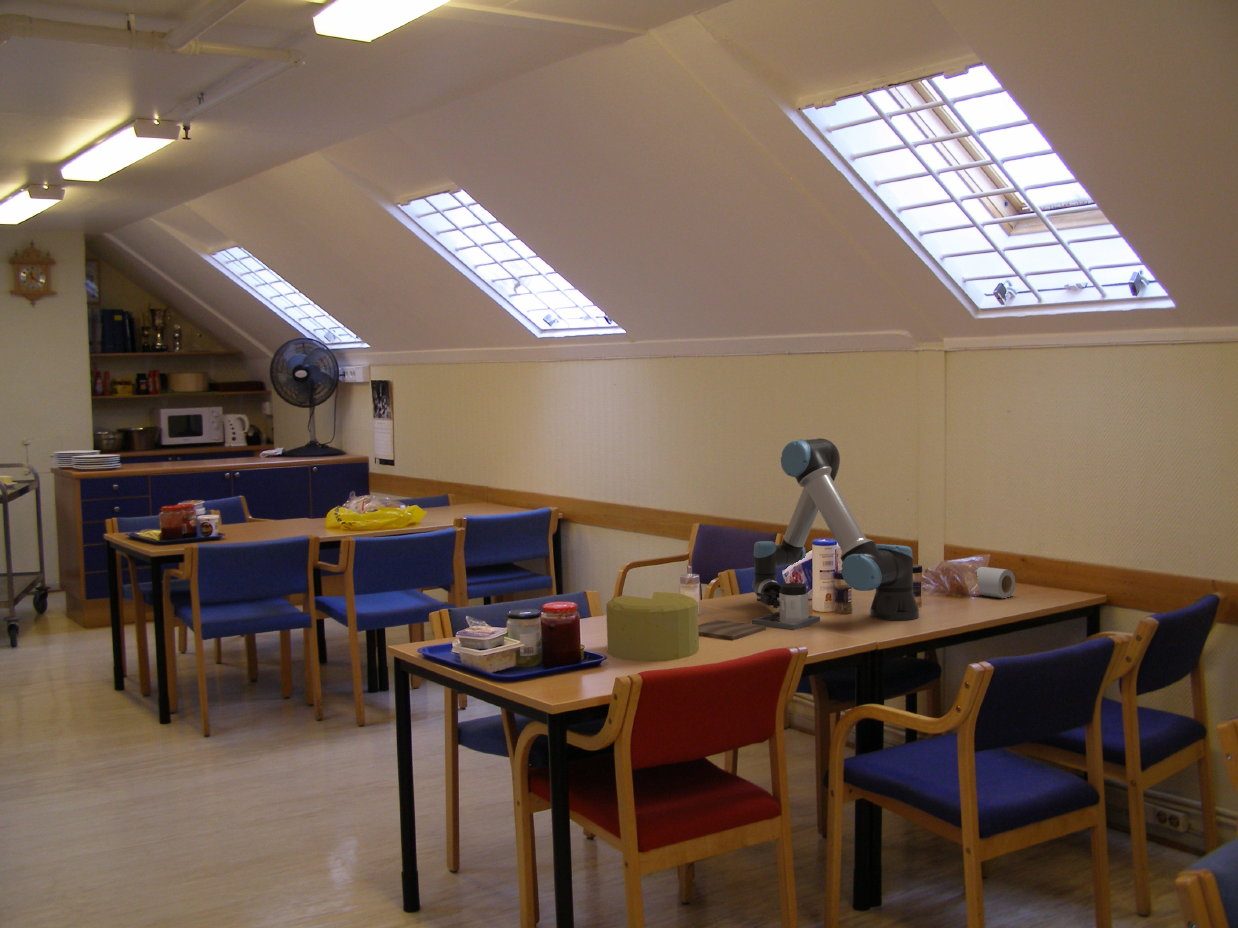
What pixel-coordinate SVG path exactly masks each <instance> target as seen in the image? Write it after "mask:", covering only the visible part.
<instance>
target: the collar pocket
mask: <svg viewBox="0 0 1238 928" xmlns="http://www.w3.org/2000/svg"><path fill="white" fill-rule="evenodd" d="M776 619H780V611H776V612H773V613H772V612H771V613H769V614H765V615H762V616H760V617H756V618H753V619H751V624H756V625H764V626H766V627H768V628H775V629H776V628H777V629H785V630H791V631H792V630H793V631H794V630H795V631H796V630H799V629H801V628H805V627H807V626H810V625H813V624H815V623H818V622H820V621H821V616H819V615H811V614H808V619H805V620H802V621H799V622H796V623H793V624H792V623H784V622H780V621H773V620H776Z"/></svg>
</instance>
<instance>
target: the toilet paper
mask: <svg viewBox="0 0 1238 928" xmlns="http://www.w3.org/2000/svg"><path fill="white" fill-rule="evenodd" d="M976 571H977V576H978V577H977V579H978V580H977V582H978V586H979V591H980V594H981V595H980V596H982V595H983V597H989V596H990V598H991V597H992V598H996V597H997V598H998V599H1003V598H1006V597H1009V598H1010V596H1011V597H1012V595H1013V594H1014V592H1015V588H1016V577H1015V575H1014V572H1013V571H1012V570H1010V569H1004V568H997V567H988V566H979V567H978V568H977V569H976V570H975V572H976Z"/></svg>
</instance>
